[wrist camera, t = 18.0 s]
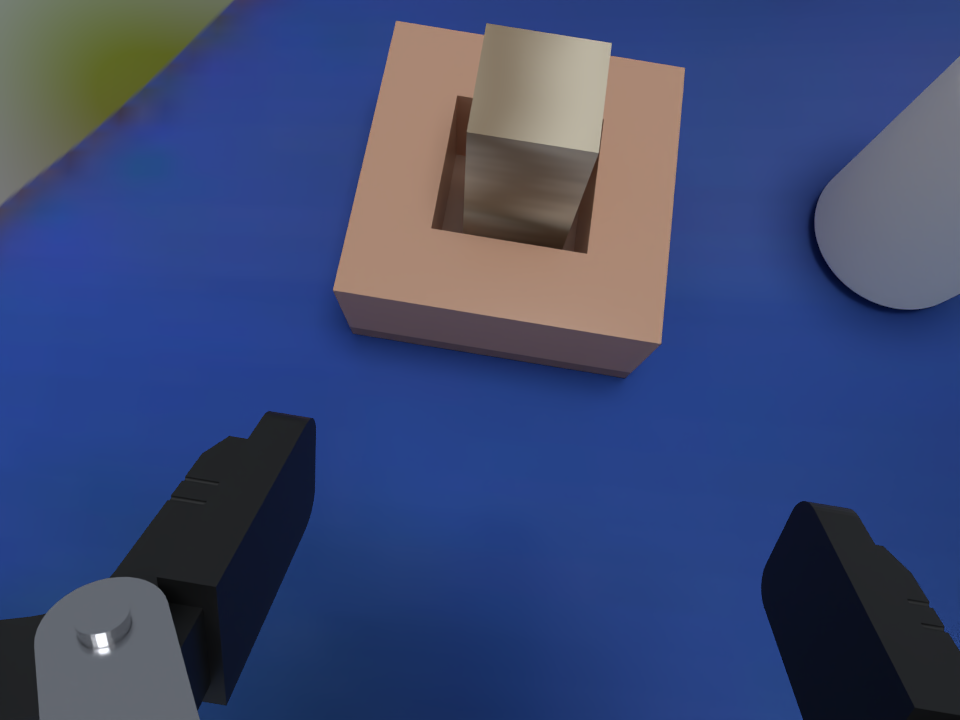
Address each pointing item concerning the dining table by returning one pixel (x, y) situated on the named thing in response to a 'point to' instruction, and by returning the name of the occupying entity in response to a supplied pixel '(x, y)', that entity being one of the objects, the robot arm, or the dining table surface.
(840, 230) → the beverage can
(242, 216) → the dining table surface
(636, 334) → the well
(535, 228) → the post
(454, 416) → the dining table surface
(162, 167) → the dining table surface
